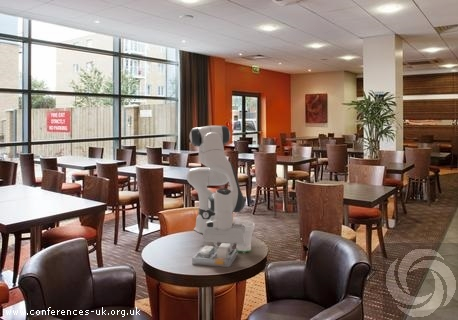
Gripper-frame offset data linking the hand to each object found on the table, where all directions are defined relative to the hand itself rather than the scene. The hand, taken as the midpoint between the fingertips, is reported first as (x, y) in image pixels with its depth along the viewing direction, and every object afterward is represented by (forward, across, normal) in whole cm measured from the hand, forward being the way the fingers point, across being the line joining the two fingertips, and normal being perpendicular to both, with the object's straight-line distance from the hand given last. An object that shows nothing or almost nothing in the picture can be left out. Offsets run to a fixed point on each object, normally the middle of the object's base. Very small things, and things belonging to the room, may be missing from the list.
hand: (223, 251), depth 193 cm
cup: (+5, -7, -16) cm, 18 cm away
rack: (+4, +4, 0) cm, 6 cm away
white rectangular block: (+2, 0, 0) cm, 2 cm away
